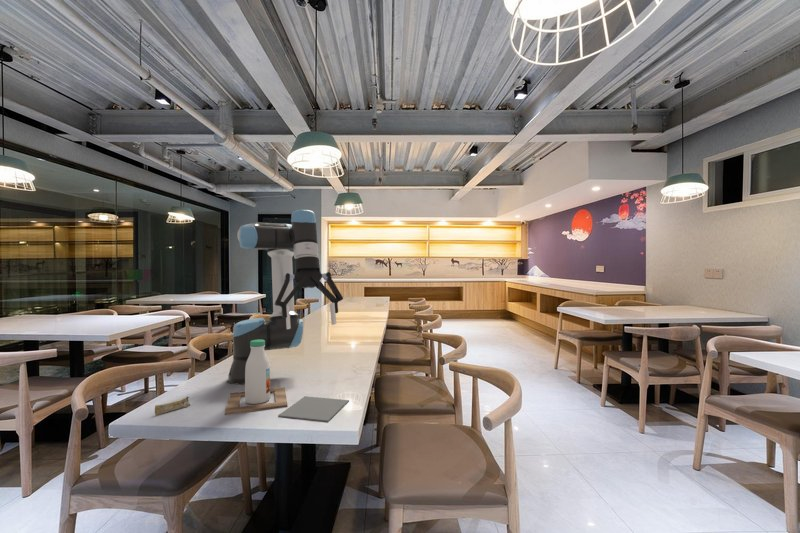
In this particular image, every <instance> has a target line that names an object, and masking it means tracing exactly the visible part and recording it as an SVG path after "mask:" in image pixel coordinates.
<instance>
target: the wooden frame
mask: <svg viewBox="0 0 800 533" xmlns="http://www.w3.org/2000/svg"><path fill="white" fill-rule="evenodd" d="M270 394H274V399H275V402H273V401H272V402H265V403H260V404H249V405H244V406H240V402H241V398H245V390H244V391H238V392H237V391H236V392H230V394H229V397H228V400H227V403H226V404H227V405H226V408H225V412H224V415H225V416H228V415H234V414H242V413H248V412H256V411H258V412H259V411H263V410H271V409H278V408H284V407H285V408H286V407H288V400H287V393H286V387H285V386H282V387H281V386H280V387H270ZM227 414H228V415H227Z"/></svg>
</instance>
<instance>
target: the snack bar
mask: <svg viewBox="0 0 800 533" xmlns="http://www.w3.org/2000/svg"><path fill="white" fill-rule="evenodd" d="M190 406H191V405H190V401H189V396H187V397H184V398H181V399H178V400H172V401H169V402H165V403H161V404H156V405H155V406H154V416H159V415H162V414H165V413H168V412H172V411H176V410H179V409H183V408H188V407H190Z"/></svg>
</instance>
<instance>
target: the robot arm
mask: <svg viewBox="0 0 800 533" xmlns="http://www.w3.org/2000/svg"><path fill="white" fill-rule="evenodd" d="M290 222H291V223H285V222H284V223H280V222H279V223H277V222H276V223H275V222H274V223H272V222H261V221H260V222H259V221H258V222H251V223H247V224H246V223H245V224H243V225H240V227H239V228H238V230H237V233H236V237H237V240H238V242H239V247H240V248H242V249H249V250H262V251H263V250H266V251H267V255H268V256H269V257H270V258H271V259H270V260H271V280H272V281H271V283H272V287H271V288H272V311H273V312H272V313H271V315H270V316H269V320H268V321H266V320H265V319H264V317H259V318H257V317H256V318H249V319H245V320H241V321H238V322H236V323H235V324H234V325H233V328H232V329H233V330H232V339H233V340H232V341H233V342H232V344H233V345H232V363H231V366H230V369H229V373H228V374H227V376H228V377H227V381H228V382H229V383H230V384H233V385H234V384H235V385H245V367H246V362H247V360H248V357H249V355H250V352H251V348H250V341H252V340H259V339H261V340H265V347H264V350H265V351H274V350H282V349H283V350H284V349H292V348H296V347H299V346H300V344H301V342H302V340H303V334H304V321H303V319H302V318H299V314H298V313H297V312H296V311H295V295H296V294H297V292H298V291H299V289H301V288H302V289H308V288H309V289H313V288H316V289H317V290H319V291H320V292H321V293H322V294H323V295H324V296H325V297H326V298H327V299H328V300H329V302H331V303H330V304H329V309H330V310H329V311H330V321H331V326H332V325H333V326H334V325H337V317H336V316H337V314H338V313H339V306H338V303H339V302H341V301H342V300H344V296H342V294H341V291H340V290H339V289H338V287H337V285H336V283H335V282H334V281H333V278H332V274H331V272H330V271H327V272H326V273H325V272H324V273H322V272H321V266H320V265H321V264H320V259H319V256H320V255H319V246H318V232H317V219H316V214H315V212H314V211H313V210H309V209H297V210H294V211H293V212H292V213H291V220H290ZM293 259H294V261H293ZM293 262H294V269H293ZM293 270H294V271H293ZM293 272H294V273H293ZM321 279H323V280H324V281H325V282H326V284H327V286H328V287H329V289H330V290H331V291H330V290H329V289H328V288H327V287H325V285H324V284H323V282H322V281H321ZM294 281H295V282H296V283H297V284H296V285H295V286H294ZM331 292H332V293H331Z"/></svg>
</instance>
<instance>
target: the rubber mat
mask: <svg viewBox="0 0 800 533" xmlns="http://www.w3.org/2000/svg"><path fill="white" fill-rule="evenodd" d="M349 402H350V400H349V399H339V398H329V397H318V396H307V395H305V396H303V397H301V398H300V399H299V400H297V401H296V402H294V403H293V404H292V405H291V406H289V407H288V408H287V409H285V410H284V411H282V412H281V413H280V414H278V415H277V416H278V418H280V417H281V418H288V419H298V420H305V421H306V420H307V421H313V422H314V421H316V422H325V423H329V422H330V420H332V419H333V418H334V417H335V416H336V415H337V414H338V413H339V412H340V411H341V410H342V409H343V408H344V407H345V406H346V405H347V404H348V403H349Z"/></svg>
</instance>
